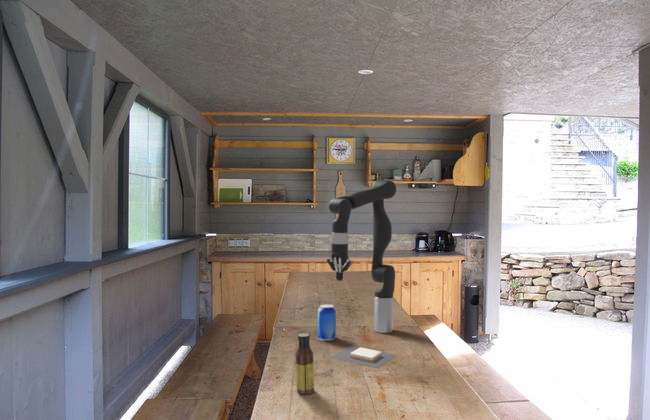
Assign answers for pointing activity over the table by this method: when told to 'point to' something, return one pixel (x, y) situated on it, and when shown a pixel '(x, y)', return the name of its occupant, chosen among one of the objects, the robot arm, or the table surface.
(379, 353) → the tile
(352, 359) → the mat
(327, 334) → the beer can
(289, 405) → the table surface
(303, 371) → the sauce bottle
